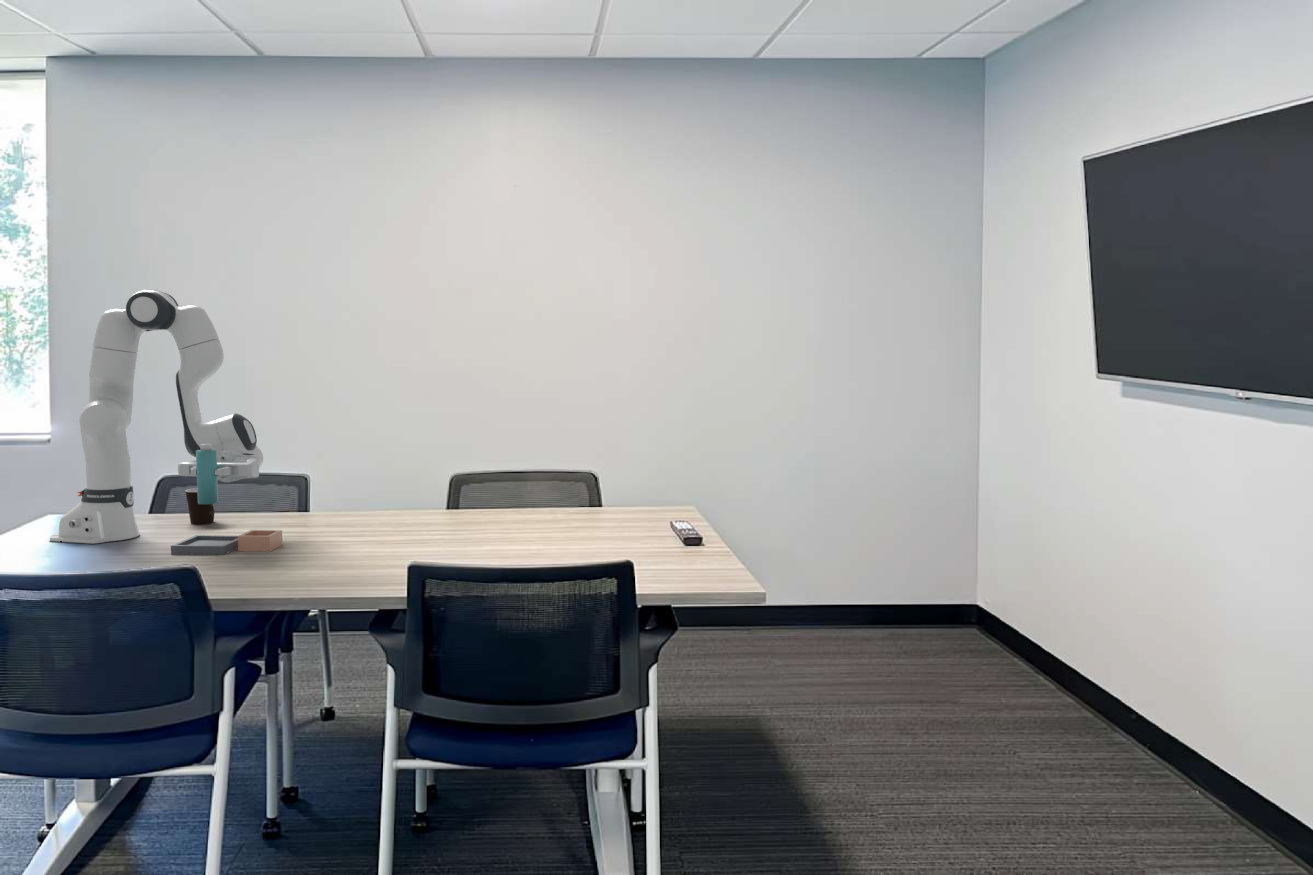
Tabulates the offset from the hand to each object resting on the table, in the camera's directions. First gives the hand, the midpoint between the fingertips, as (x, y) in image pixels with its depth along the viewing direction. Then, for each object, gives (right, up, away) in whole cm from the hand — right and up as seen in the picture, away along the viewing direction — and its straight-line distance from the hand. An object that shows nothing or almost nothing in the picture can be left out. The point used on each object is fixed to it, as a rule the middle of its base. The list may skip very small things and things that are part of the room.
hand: (205, 472), depth 279 cm
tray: (0, -20, +3) cm, 21 cm away
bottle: (0, -8, +2) cm, 8 cm away
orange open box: (+13, -20, +5) cm, 25 cm away
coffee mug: (-18, -17, +41) cm, 48 cm away
